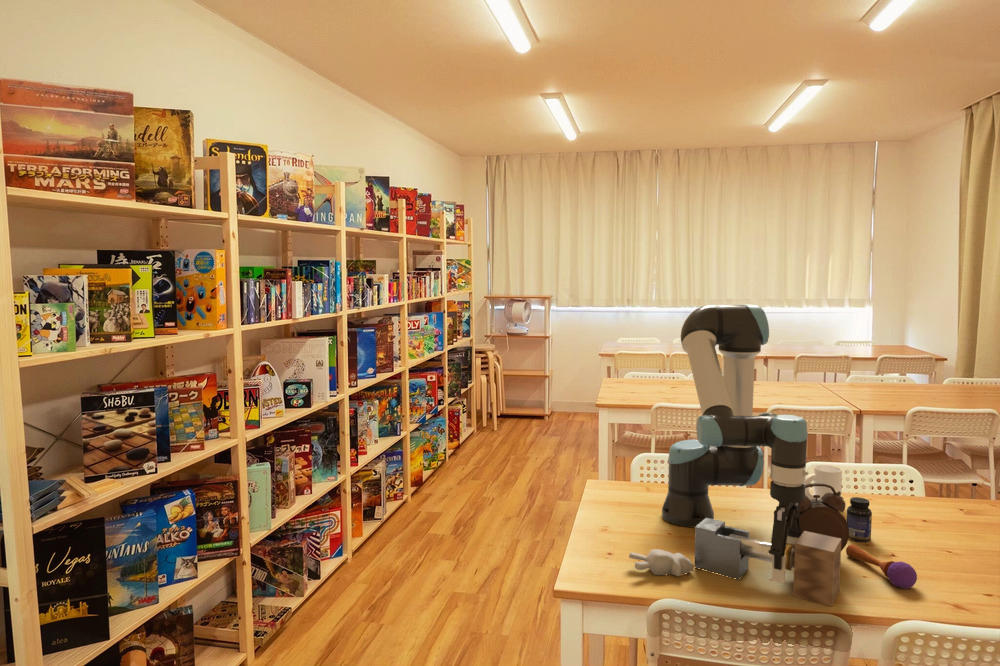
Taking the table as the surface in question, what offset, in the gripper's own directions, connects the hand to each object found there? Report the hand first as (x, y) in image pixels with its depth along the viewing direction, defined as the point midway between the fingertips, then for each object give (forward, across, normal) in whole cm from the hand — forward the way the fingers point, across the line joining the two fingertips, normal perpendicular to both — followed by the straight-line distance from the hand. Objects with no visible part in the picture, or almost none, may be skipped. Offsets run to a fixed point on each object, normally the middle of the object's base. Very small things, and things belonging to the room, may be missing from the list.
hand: (784, 571), depth 156 cm
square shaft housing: (+3, 0, +15) cm, 15 cm away
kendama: (+4, +20, -17) cm, 27 cm away
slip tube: (-1, 0, +3) cm, 4 cm away
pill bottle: (+3, +41, -10) cm, 42 cm away
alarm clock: (+3, +20, -2) cm, 20 cm away
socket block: (+3, 0, -7) cm, 8 cm away
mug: (+3, +63, +4) cm, 63 cm away
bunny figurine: (+4, -10, +26) cm, 29 cm away
